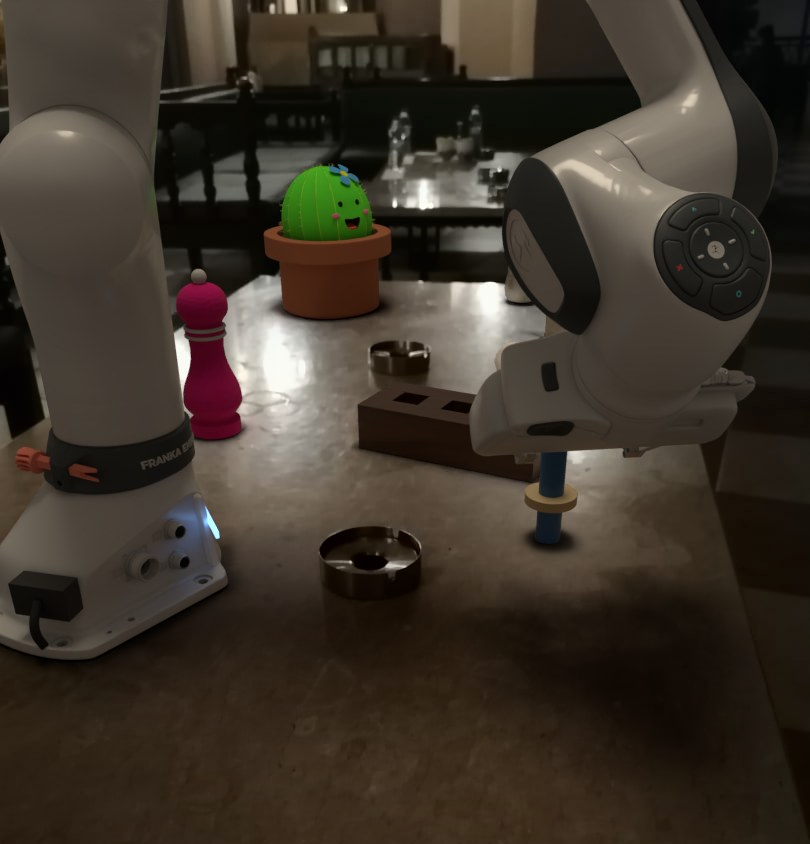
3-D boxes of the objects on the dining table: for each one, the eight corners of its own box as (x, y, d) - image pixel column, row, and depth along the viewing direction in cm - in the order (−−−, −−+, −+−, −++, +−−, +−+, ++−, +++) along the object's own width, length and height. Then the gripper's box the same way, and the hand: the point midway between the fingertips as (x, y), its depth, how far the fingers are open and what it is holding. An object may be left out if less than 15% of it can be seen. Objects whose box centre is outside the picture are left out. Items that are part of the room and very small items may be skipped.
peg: (563, 555, 86) (572, 447, 81) (514, 543, 88) (520, 438, 83) (580, 532, 90) (590, 429, 85) (532, 522, 92) (539, 420, 87)
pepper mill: (233, 443, 111) (215, 277, 101) (178, 439, 112) (155, 274, 102) (253, 422, 117) (238, 263, 107) (201, 418, 118) (181, 261, 109)
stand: (532, 482, 100) (535, 436, 98) (358, 447, 109) (357, 404, 107) (560, 452, 107) (563, 408, 105) (395, 422, 117) (395, 380, 114)
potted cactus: (248, 306, 168) (235, 161, 156) (343, 287, 181) (337, 152, 169) (316, 331, 154) (307, 173, 142) (414, 308, 166) (414, 161, 154)
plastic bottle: (534, 297, 173) (541, 185, 163) (541, 306, 167) (549, 191, 157) (501, 298, 172) (505, 186, 163) (507, 307, 166) (512, 191, 157)
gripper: (757, 334, 66) (686, 412, 79) (482, 346, 64) (456, 424, 78) (774, 413, 65) (699, 480, 78) (492, 428, 63) (464, 494, 76)
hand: (576, 452), depth 78 cm, fingers open, 8 cm apart
